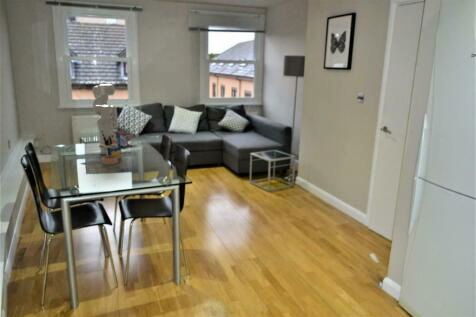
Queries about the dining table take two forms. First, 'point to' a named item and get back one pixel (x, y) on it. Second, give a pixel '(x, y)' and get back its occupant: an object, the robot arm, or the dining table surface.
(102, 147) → the lid
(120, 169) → the dining table surface
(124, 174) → the dining table surface
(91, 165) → the mat
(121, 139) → the colourful crumpled piece
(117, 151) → the blue food box
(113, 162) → the bowl
